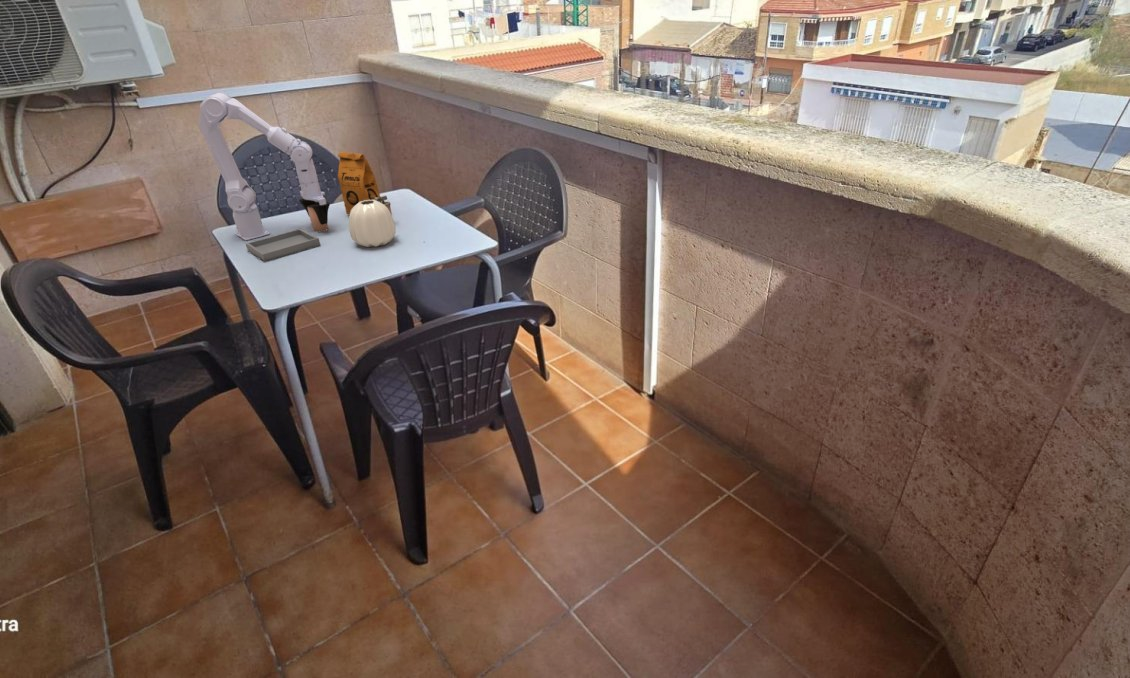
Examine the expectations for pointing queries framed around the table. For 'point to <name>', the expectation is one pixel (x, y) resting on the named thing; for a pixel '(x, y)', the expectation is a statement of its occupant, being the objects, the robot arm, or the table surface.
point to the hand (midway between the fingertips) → (319, 221)
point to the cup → (316, 220)
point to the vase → (371, 224)
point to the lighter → (384, 202)
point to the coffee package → (356, 180)
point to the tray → (282, 244)
